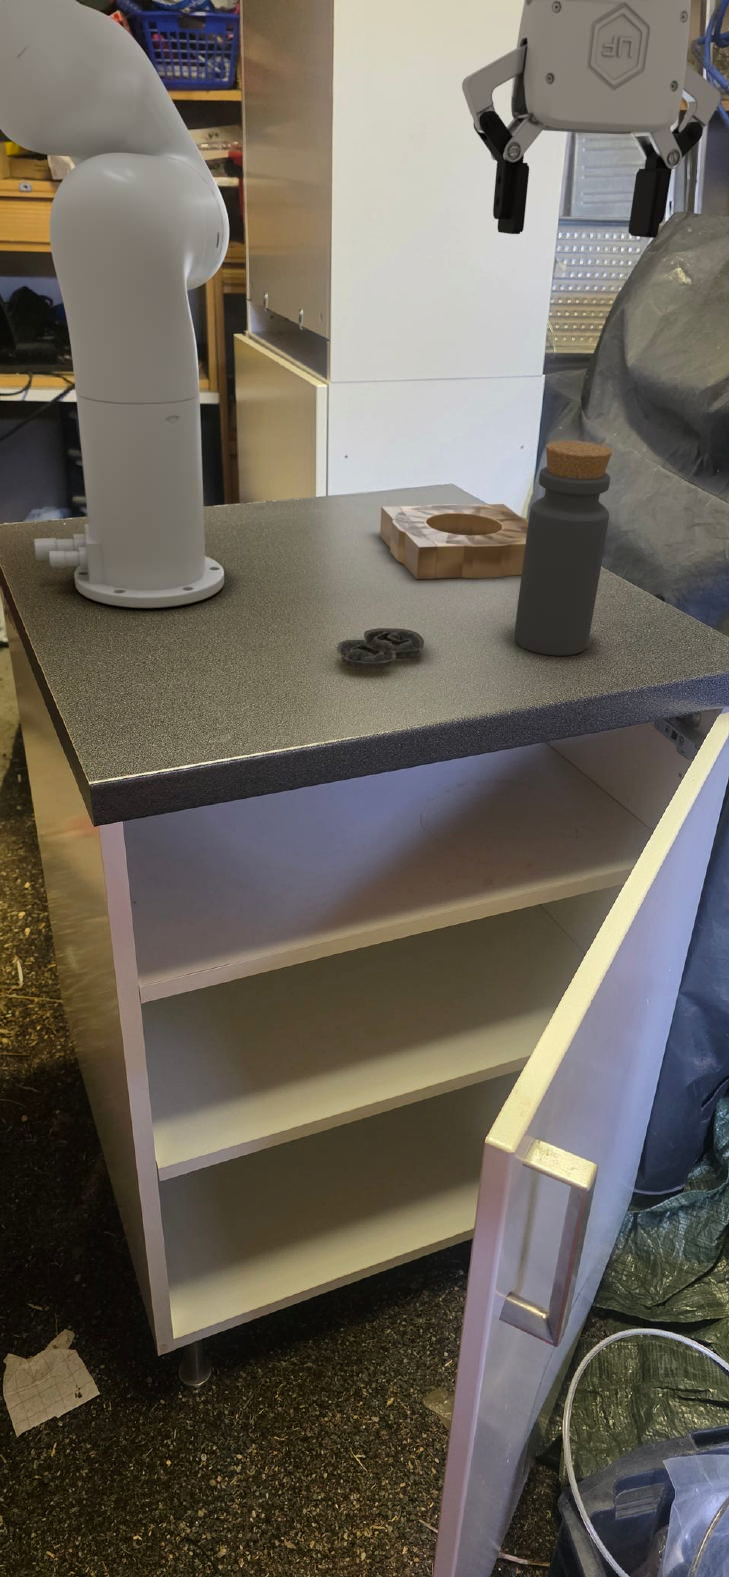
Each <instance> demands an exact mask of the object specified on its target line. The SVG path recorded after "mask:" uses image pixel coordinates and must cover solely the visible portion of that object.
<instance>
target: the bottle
mask: <svg viewBox="0 0 729 1577" xmlns="http://www.w3.org/2000/svg"><path fill="white" fill-rule="evenodd" d="M545 454H546V466H545V467H543V468H541V469H540V471H539V476H538V484H539V485H540V487H542V488H544V489H545V490H544V495H543V496H542V497H540V498H538V499H536V500H534V502H533V503H532V504H530V508H529V515H528V520H529V521H528V528H527V536H526V544H525V551H524V559H523V567H522V575H520V583H519V591H518V599H517V607H516V616H515V626H514V634H513V638H514V641H515V642H516V644H517V645H518V646H520V647H521V648H523V649H525V650H527V651H530V652H532V653H536V654H541V655H545V656H546V655H547V656H560V657H561V656H573V655H576V654H579V653H582V652H583V651H585V650H586V649H587V647H588V644H589V639H590V635H591V629H592V624H593V617H594V613H595V612H594V611H595V605H596V600H597V593H598V587H599V582H600V575H601V570H602V569H601V568H602V563H603V558H604V551H605V546H606V539H607V533H608V526H609V520H610V512H609V510H608V509H607V507H605V505H603V503H602V502H600V496H601V495H602V494H604V493H607V492H608V491H609V489H610V485H611V484H610V483H611V476H610V474H609V473H607V472H606V470H607V468H608V465H609V462H610V459H611V457H612V455H613V451H612V449H611V448H609V447H608V446H605V445H603V444H600V443H595V442H589V441H583V440H556V441H551V442H548V443H547V444H546V445H545Z"/></svg>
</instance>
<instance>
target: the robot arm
mask: <svg viewBox="0 0 729 1577" xmlns="http://www.w3.org/2000/svg"><path fill="white" fill-rule="evenodd" d="M691 6H692V0H523V7H522V12H521V17H520V23H519V29H518V35H517V44H516V48H514V49H513V50H511V51H509V52H507V53H506V54H504V55H503V56H501V57H499V58H497V59H495V60H494V61H492V62H490V63H488V64H486V65H485V66H483V67H481V68H480V69H478V70H476V71H474V72H473V73H470V74H469V75H468V76H466V77H465V78H464V79H463V81H462V83H461V89H462V93H463V96H464V99H465V102H466V105H467V107H468V111H469V114H470V116H471V117H472V121H473V124H472V125H473V129H474V131H475V133H476V134H477V135H478V137H479V138H480V140H481V141H482V142H483V144H484V145H485V147H486V148H487V150H488V151H489V153H490V157H491V160H492V161H494V162H495V163H496V171H495V182H494V192H493V194H494V195H493V205H492V206H493V207H492V216H493V219H494V220H497V232H498V233H501V234H508V235H520V234H521V233H522V232H524V227H525V218H526V209H527V208H526V207H527V196H528V187H529V176H530V166H529V164H528V162H524V159H525V158H524V156H525V153H526V152H527V151H528V149H529V148H530V147H531V146H532V144H533V143H534V142H535V140H537V138H538V137H539V136H540V134H541V133H542V132H543V131H546V132H562V133H563V132H564V133H582V134H583V133H585V134H604V135H605V134H606V135H630V134H631V136H632V138H633V140H634V142H635V144H636V146H637V148H638V150H639V152H640V154H641V156H642V158H643V160H644V167H643V168H638V170H637V172H636V174H635V181H634V188H633V194H632V202H631V209H630V216H629V221H628V222H629V223H628V234H630V236H631V237H640V238H648V239H649V238H650V239H655V238H657V236H658V234H659V230H660V224H662V223H663V221H664V219H665V216H666V209H667V203H668V198H669V190H670V185H671V179H672V173H673V170H674V169H676V168H678V167H679V166H680V164H681V163H682V159H683V158H684V157H685V156H686V155H687V154H688V153H689V152H690V150H692V148H693V147H695V145H696V144H697V143H698V142H699V141H700V140H701V139H702V137H703V133H704V129H705V127H707V126H708V124H709V123H710V120H711V119H712V118H713V115H714V113H715V112H716V110H717V109H718V106H719V104H720V102H721V100H722V94H721V92H720V90H719V89H717V88H716V87H715V86H714V85H713V84H712V83H711V82H710V81H709V80H708V79H706V78H705V77H704V76H702V75H701V74H700V73H699V72H698V71H696V70H695V69H694V68H693V66H691V65H690V64H689V63H687V60H688V51H689V50H688V49H689V37H690V27H691V26H690V25H691V24H690V23H691V9H692V8H691ZM510 80H512V82H511V93H510V94H511V96H510V98H511V99H510V110H511V117H512V118H513V119H512V120H511V122H510V123H509V124H507V125H506V124H505V123H504V122H503V119H502V118H501V117H500V115H499V114H498V113H497V112H496V110H495V106H494V105H495V103H494V100H493V93H494V90H496V88H498V87H500V86H501V85H503V84H505V83H507V82H508V81H510ZM683 99H684V101H686V103H687V109H686V112H685V114H684V118H683V120H682V121H681V123H679V124H677V125H676V126H675V128H674V129H671V127H672V126H673V125H674V124H676V122H677V120H678V117H679V114H680V112H681V106H682V101H683ZM0 131H1V132H2V133H3V134H4V136H6V137H7V139H9V140H11V141H12V142H13V143H14V144H16V145H18V146H19V147H21V148H23V149H25V150H27V151H31V152H35V153H37V154H42V155H48V156H55V157H67V158H68V157H69V159H70V161H71V162H72V164H73V165H74V167H73V168H72V169H71V170H70V171H69V172H68V173H66V175H65V176H64V177H63V178H62V181H61V182H60V184H59V185H58V187H57V189H56V192H55V194H54V197H53V201H52V203H51V208H50V214H49V227H48V229H49V231H48V232H49V233H48V234H49V242H50V250H51V257H52V261H53V262H52V263H53V265H54V266H53V267H54V270H55V274H56V279H57V282H58V286H59V290H60V294H61V298H62V299H61V300H62V302H63V308H64V312H65V318H66V323H67V328H68V335H69V343H70V351H71V359H72V368H73V379H74V380H73V381H74V388H75V390H74V391H75V394H76V408H77V418H78V428H79V438H80V448H81V459H82V471H83V472H82V473H83V481H84V493H85V494H84V495H85V503H86V504H85V505H86V515H87V523H85V524H84V533H73V534H72V537H73V538H58V539H57V538H56V537H50V538H49V537H45V538H44V537H43V538H41V537H40V538H34V539H33V541H34V542H33V543H34V554H35V560H36V562H37V563H43V562H49V567H50V569H62V568H67V567H68V568H69V567H77V568H76V569H75V570H74V575H73V578H74V584H75V588H76V590H77V592H78V593H80V594H81V595H82V596H84V597H85V598H87V599H89V600H92V601H94V602H97V603H101V604H106V605H109V606H115V607H120V608H121V607H122V608H133V609H162V608H163V609H164V608H171V607H178V606H183V605H184V606H185V605H190V604H193V603H197V602H200V601H203V600H205V599H208V598H210V597H212V596H214V595H215V594H217V593H218V592H219V591H220V590H221V589H222V588H223V587H224V584H225V570H224V567H223V566H222V565H221V564H220V563H219V562H218V561H216V560H214V559H213V558H211V557H209V556H207V555H206V541H205V538H206V536H205V511H204V508H205V507H204V483H203V480H204V478H203V456H202V455H203V454H202V452H203V450H202V425H201V397H200V396H201V395H200V374H199V371H200V370H199V359H198V358H199V357H198V346H197V340H196V334H195V333H196V332H195V328H194V322H193V318H192V317H193V316H192V312H191V307H190V303H189V302H190V301H189V297H188V291H192V290H194V289H197V288H199V287H200V286H203V285H204V284H205V283H207V282H208V281H209V280H210V279H211V278H213V277H214V276H215V275H216V273H217V272H218V271H219V269H220V268H221V266H222V264H223V262H224V260H225V258H226V255H227V251H228V247H229V242H230V223H229V217H228V216H229V215H228V212H227V211H228V210H227V208H226V204H225V201H224V199H223V196H222V193H221V191H220V188H219V186H218V185H217V181H216V180H215V178H214V176H213V174H212V172H211V170H210V168H209V166H208V165H207V163H206V161H205V159H204V158H203V155H202V153H201V151H200V150H199V147H198V146H197V144H196V142H195V140H194V139H193V136H192V135H191V133H190V131H189V129H188V127H187V125H186V124H185V122H184V120H183V118H182V116H181V114H180V112H179V110H178V109H177V107H176V105H175V104H174V101H173V100H172V98H171V96H170V94H169V92H168V90H167V88H166V86H165V85H164V82H163V81H162V79H161V77H160V75H159V73H158V72H157V69H156V68H155V67H154V65H153V63H152V61H151V60H150V59H149V57H148V55H147V54H146V52H145V51H144V49H143V48H142V47H141V45H140V44H139V43H138V42H137V40H136V39H135V38H134V37H133V36H132V34H131V33H130V32H129V31H128V30H127V29H126V28H125V27H124V26H122V25H121V24H120V23H118V22H117V21H116V20H115V19H113V18H112V17H111V16H109V15H107V14H105V13H104V12H101V11H100V10H97V9H94V8H92V7H89V6H87V5H84V4H81V3H80V2H79V1H77V0H0Z"/></svg>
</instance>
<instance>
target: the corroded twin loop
mask: <svg viewBox="0 0 729 1577" xmlns="http://www.w3.org/2000/svg"><path fill="white" fill-rule="evenodd" d="M424 645H425V641H424V638H423V637H422V636H421V635H420V633H418V632H417V631H413V630H411V629H406V628H398V627H397V628H396V627H395V628H394V627H393V628H392V627H391V628H390V627H379V628H372V629H367V630H365V631H364V633H363V639H345V640H342V641H340V642H338V644H337V647H336V652H337V654H339V655H340V656H341V661H342V663H343V664H344V665H345V666H346V667H347V668H349V669H351V670H366V671H367V670H368V671H369V670H385V669H387V668H391V665H392V661H393V660H406V659H414V658H416V657H418V655H419V654H420V652H421V650H422V649H423V648H424Z"/></svg>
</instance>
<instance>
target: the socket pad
mask: <svg viewBox="0 0 729 1577" xmlns="http://www.w3.org/2000/svg"><path fill="white" fill-rule="evenodd" d="M528 521H529V519H528V518H526V517H523V516H521V515H519V514H517V512H515V511H513V510H512V509H511V508H509V507H508V506H507V505H505V504H504V503H491V504H487V503H485V504H484V503H483V504H482V503H481V504H459V503H458V504H457V503H447V504H446V503H445V504H444V503H443V504H427V505H426V504H425V505H400V506H396V505H395V506H381V508H380V525H379V526H380V527H379V528H380V529H379V531H380V532H379V537H380V538H381V540H382V541H383V542H384V543H385V544H386V545H387V547H388V548H389V553H390V554H391V555H392V556H393V558H394V559H395V560H396V561H397V562H398V563H400V564H403V565H404V567H405V568H406V569H407V570H408V571H409V572H410V574H411V575H412V576H413V577H414V579H416V580H432V579H433V580H434V579H454V578H455V579H456V578H457V579H459V578H464V579H488V578H502V577H503V578H504V577H506V576H521V575H522V567H523V559H524V551H525V544H526V536H527V528H528Z"/></svg>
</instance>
